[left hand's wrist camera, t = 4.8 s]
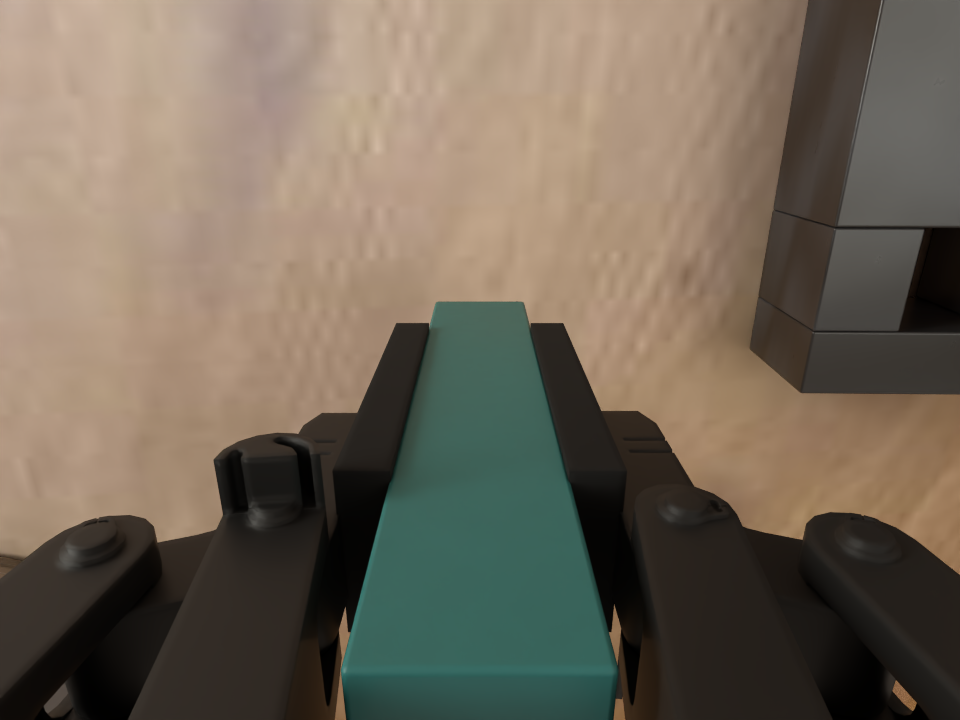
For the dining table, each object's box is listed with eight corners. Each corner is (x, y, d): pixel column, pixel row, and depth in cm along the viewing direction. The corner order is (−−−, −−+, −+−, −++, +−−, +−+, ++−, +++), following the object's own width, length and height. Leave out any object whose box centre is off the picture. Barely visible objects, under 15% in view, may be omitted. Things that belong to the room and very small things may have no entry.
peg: (522, 382, 17) (601, 853, 6) (437, 382, 17) (358, 853, 6) (524, 301, 16) (621, 671, 5) (435, 301, 16) (338, 671, 5)
